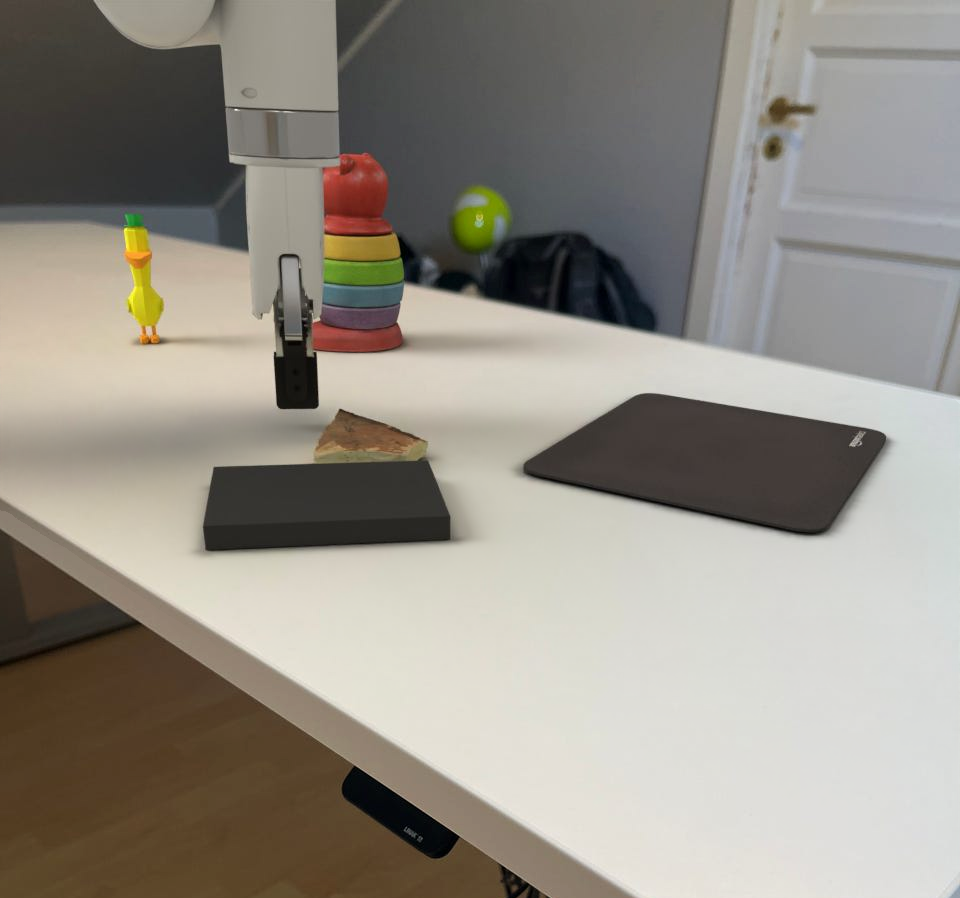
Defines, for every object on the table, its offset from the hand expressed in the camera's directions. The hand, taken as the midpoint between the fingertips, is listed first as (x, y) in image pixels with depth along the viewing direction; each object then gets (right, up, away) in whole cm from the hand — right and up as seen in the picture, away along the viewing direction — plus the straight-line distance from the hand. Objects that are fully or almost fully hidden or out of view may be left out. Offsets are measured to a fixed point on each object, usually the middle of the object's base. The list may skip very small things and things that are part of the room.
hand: (298, 405), depth 75 cm
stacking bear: (+1, +13, +27) cm, 30 cm away
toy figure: (-20, +12, +24) cm, 33 cm away
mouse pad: (+32, -4, -2) cm, 32 cm away
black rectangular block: (+5, -10, -15) cm, 19 cm away
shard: (+5, -5, -5) cm, 9 cm away
